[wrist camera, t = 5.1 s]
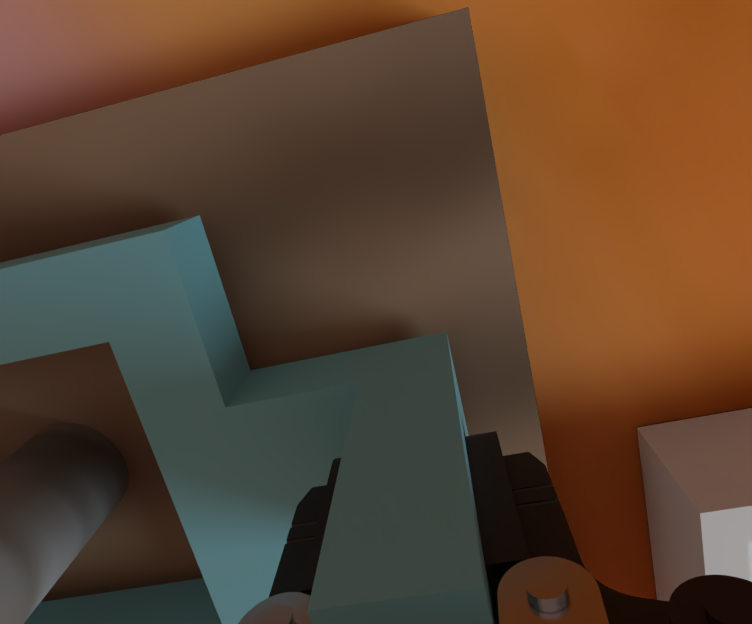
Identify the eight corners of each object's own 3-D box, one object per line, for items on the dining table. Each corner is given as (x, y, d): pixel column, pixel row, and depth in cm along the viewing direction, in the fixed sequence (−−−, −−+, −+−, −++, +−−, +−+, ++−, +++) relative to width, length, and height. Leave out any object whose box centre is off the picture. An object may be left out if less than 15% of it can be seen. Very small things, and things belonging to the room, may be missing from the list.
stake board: (-276, 222, 17) (-1383, 377, 7) (461, 23, 14) (594, -269, 4) (-17, 678, 22) (-402, 1172, 12) (563, 599, 19) (739, 1160, 9)
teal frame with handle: (-231, 317, 15) (-902, 520, 7) (411, 164, 13) (403, 226, 5) (-30, 664, 18) (-343, 1046, 11) (502, 593, 16) (578, 1012, 9)
